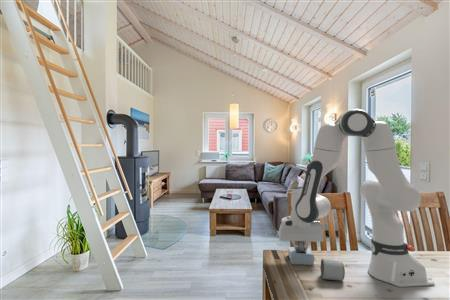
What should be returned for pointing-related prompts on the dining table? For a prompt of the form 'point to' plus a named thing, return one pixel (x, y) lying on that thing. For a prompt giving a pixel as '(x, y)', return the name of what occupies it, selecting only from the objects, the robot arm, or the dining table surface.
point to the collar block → (301, 256)
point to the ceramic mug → (332, 269)
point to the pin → (300, 246)
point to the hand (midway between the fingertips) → (300, 250)
